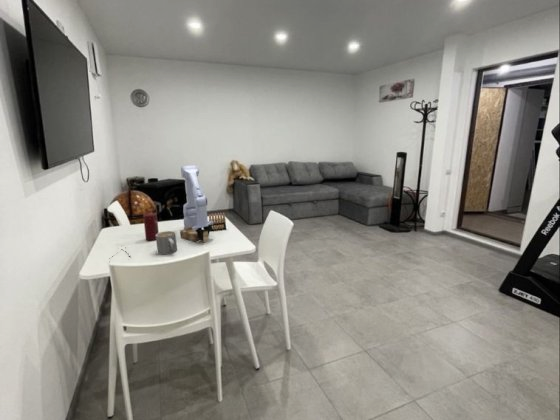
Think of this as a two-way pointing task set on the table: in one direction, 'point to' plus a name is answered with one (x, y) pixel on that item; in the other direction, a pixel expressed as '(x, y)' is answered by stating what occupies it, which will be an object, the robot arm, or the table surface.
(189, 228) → the lid
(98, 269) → the table surface
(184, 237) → the wooden box
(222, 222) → the ammunition clip
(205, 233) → the tan wooden block
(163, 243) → the coffee mug
